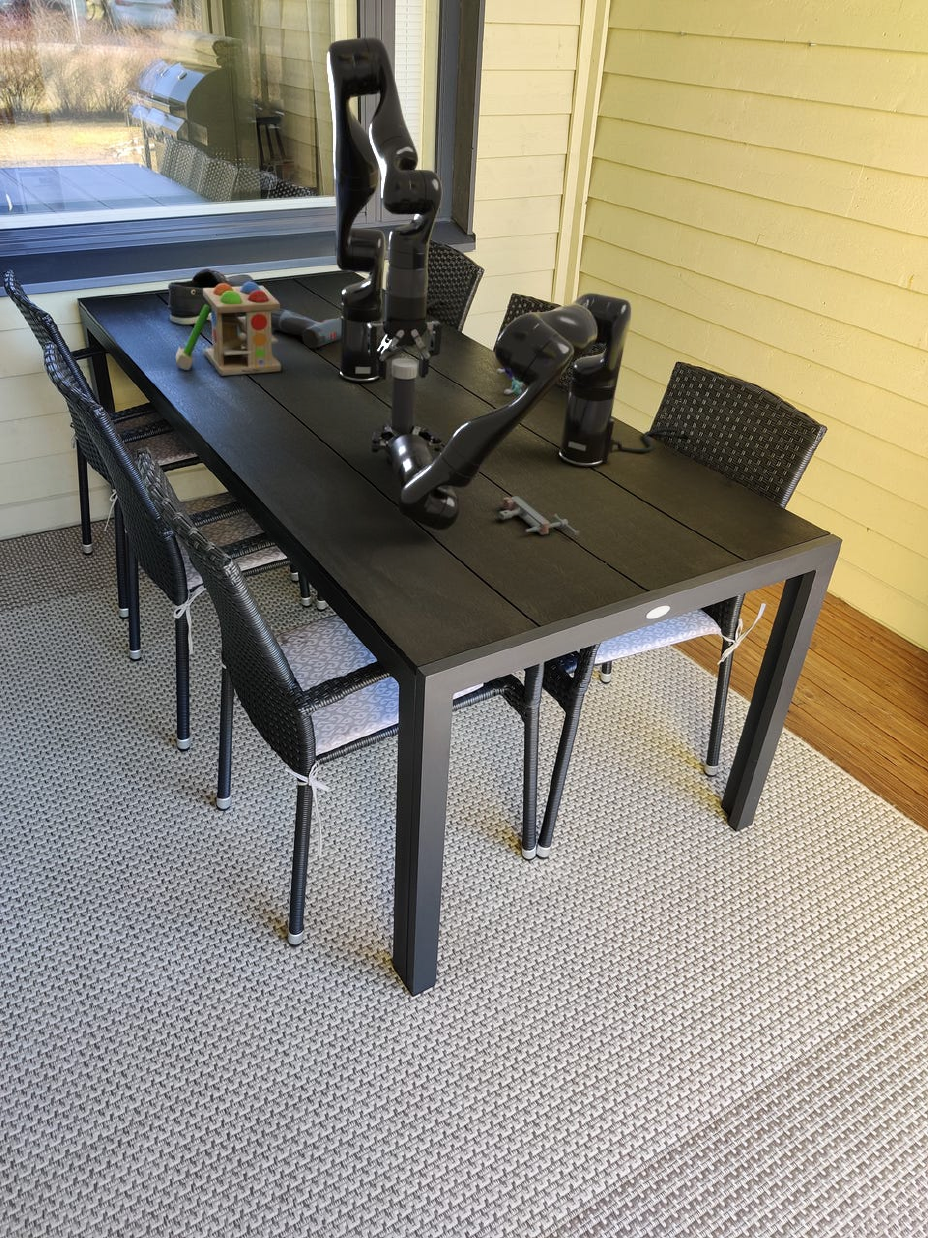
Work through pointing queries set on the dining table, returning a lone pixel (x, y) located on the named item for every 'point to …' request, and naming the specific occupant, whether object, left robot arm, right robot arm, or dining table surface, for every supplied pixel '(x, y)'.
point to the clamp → (530, 516)
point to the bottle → (402, 405)
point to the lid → (404, 368)
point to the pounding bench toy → (229, 347)
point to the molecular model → (515, 384)
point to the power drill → (307, 327)
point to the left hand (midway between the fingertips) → (402, 377)
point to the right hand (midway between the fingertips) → (399, 424)
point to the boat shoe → (197, 294)
